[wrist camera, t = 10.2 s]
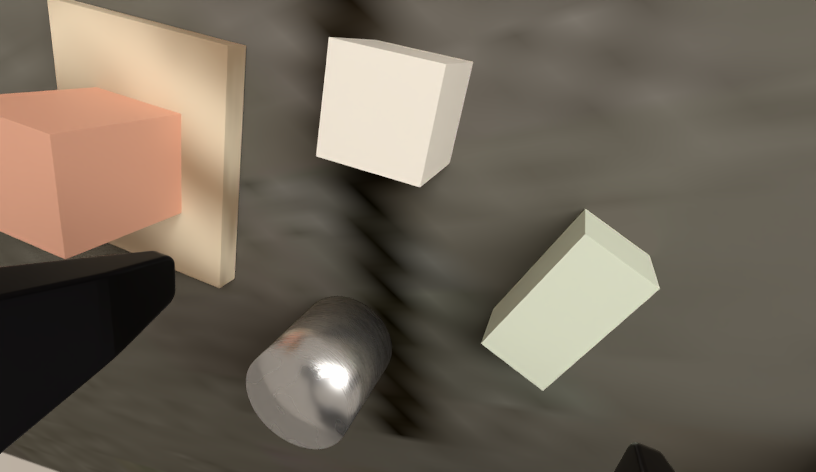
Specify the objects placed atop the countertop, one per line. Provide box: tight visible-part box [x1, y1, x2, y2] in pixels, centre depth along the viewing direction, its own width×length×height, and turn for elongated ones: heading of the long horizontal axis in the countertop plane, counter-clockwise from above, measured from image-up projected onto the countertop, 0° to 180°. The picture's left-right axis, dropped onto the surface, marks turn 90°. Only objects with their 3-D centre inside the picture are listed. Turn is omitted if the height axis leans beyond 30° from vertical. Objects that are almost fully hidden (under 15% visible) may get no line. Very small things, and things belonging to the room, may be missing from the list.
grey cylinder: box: [246, 296, 392, 449], centre depth 22 cm, size 5×5×5 cm
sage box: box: [481, 209, 660, 391], centre depth 18 cm, size 6×3×3 cm, turn 148°
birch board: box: [47, 0, 246, 288], centre depth 24 cm, size 12×10×1 cm
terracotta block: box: [0, 87, 182, 259], centre depth 20 cm, size 5×5×6 cm
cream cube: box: [316, 37, 473, 187], centre depth 17 cm, size 4×4×4 cm
